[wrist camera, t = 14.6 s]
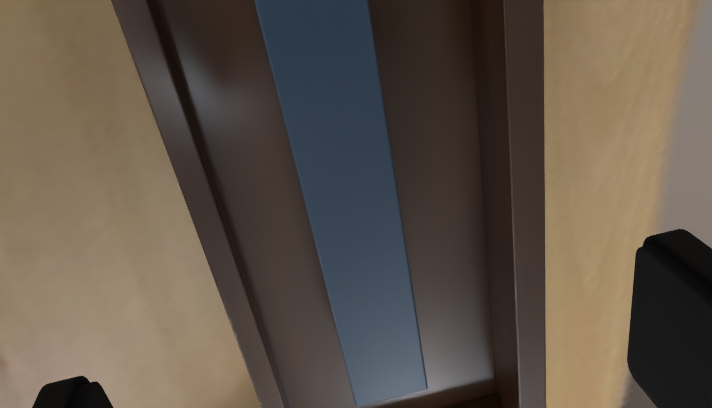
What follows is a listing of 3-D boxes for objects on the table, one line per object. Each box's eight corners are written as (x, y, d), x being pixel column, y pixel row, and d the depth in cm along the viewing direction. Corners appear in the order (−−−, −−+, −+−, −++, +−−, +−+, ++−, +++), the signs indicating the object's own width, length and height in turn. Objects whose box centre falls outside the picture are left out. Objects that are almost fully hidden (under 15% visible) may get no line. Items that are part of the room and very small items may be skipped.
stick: (345, 355, 25) (356, 407, 22) (191, -272, 14) (175, -310, 12) (411, 339, 25) (428, 390, 23) (306, -293, 14) (316, -335, 12)
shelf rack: (281, 329, 37) (290, 521, 25) (56, -389, 20) (-212, -766, 9) (459, 287, 37) (546, 456, 26) (385, -444, 21) (540, -869, 9)
